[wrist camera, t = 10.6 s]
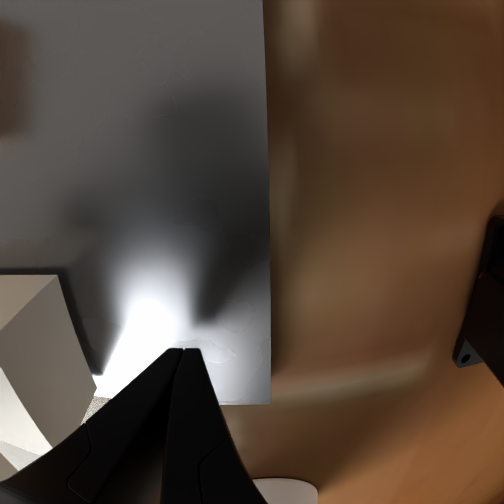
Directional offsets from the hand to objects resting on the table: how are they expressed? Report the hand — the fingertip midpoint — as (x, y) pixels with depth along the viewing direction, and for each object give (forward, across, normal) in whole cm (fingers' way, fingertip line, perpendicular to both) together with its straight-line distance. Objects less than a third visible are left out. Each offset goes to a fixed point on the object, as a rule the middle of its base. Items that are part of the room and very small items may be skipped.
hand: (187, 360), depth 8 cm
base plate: (+2, +7, -4) cm, 8 cm away
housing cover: (+1, +6, 0) cm, 6 cm away
